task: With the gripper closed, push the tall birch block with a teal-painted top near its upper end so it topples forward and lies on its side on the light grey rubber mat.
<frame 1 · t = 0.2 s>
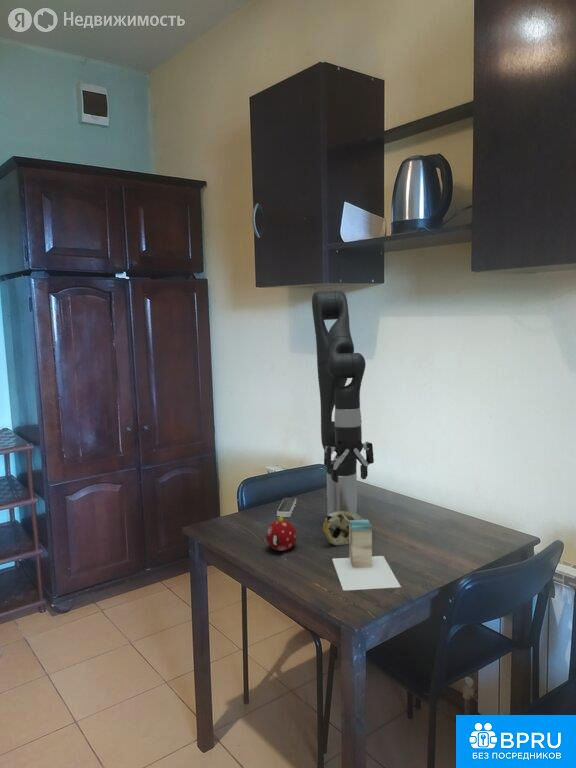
hand: (349, 480, 163), 19 cm above the table, tool pointing down, fingers open, 8 cm apart
christmas ornament: (281, 550, 163), on the table
skull: (342, 543, 167), on the table
mat: (364, 574, 146), on the table
tall block: (360, 563, 151), point 1 cm above the table, touching mat
multiport hub: (287, 511, 196), on the table
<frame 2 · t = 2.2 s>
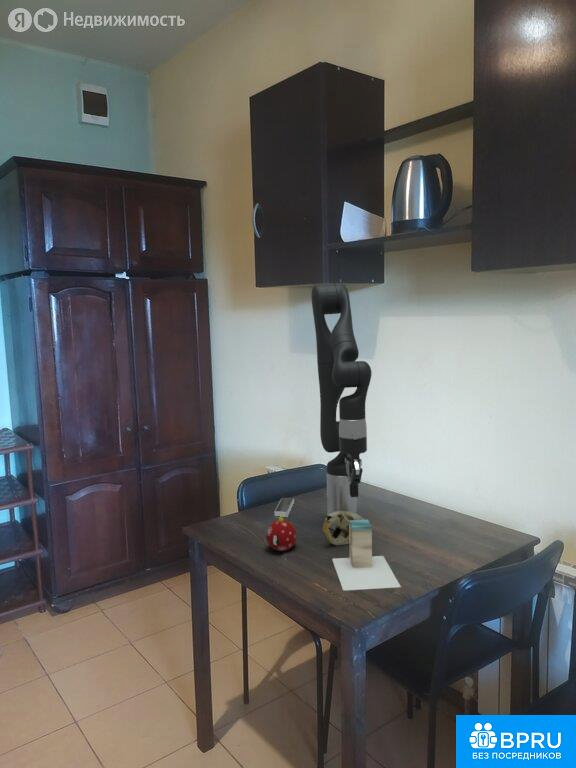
hand: (354, 496, 158), 16 cm above the table, tool pointing down, fingers closed
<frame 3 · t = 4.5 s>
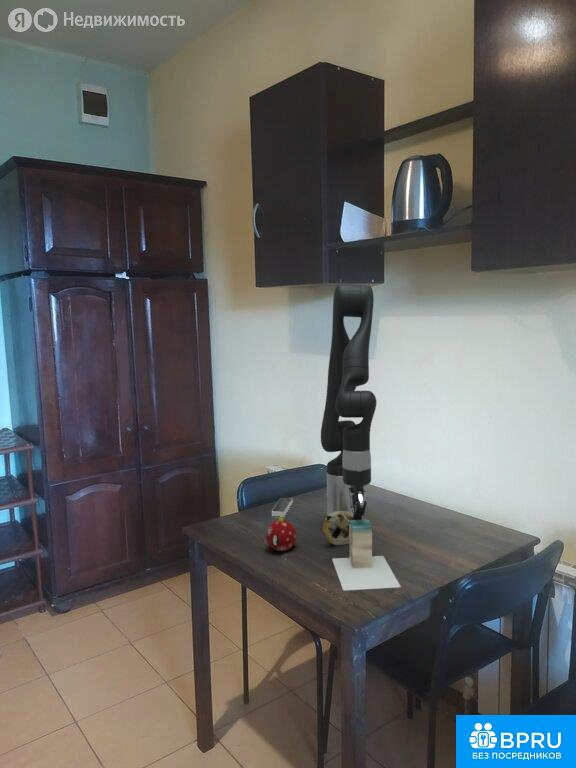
hand: (357, 527, 154), 9 cm above the table, tool pointing down, fingers closed
tall block: (360, 563, 151), point 1 cm above the table, touching gripper, mat
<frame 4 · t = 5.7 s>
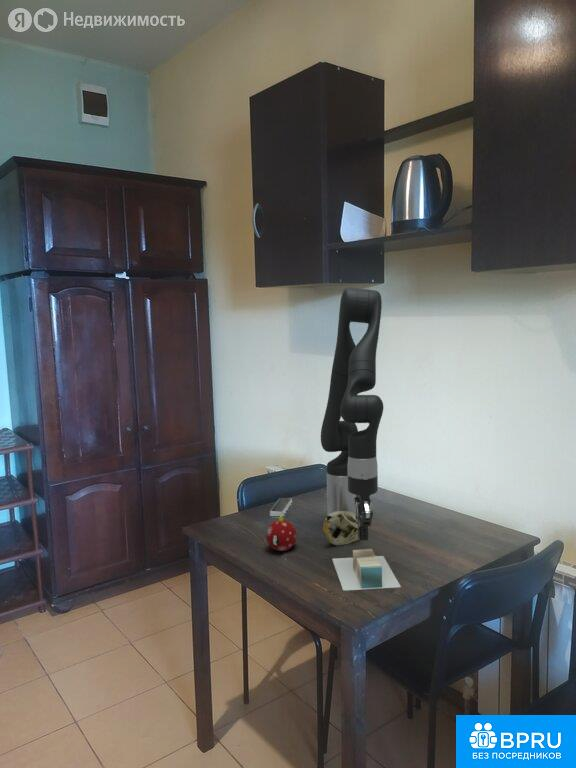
hand: (363, 539, 147), 9 cm above the table, tool pointing down, fingers closed
tall block: (362, 558, 148), point 3 cm above the table, tilted 90°, touching mat
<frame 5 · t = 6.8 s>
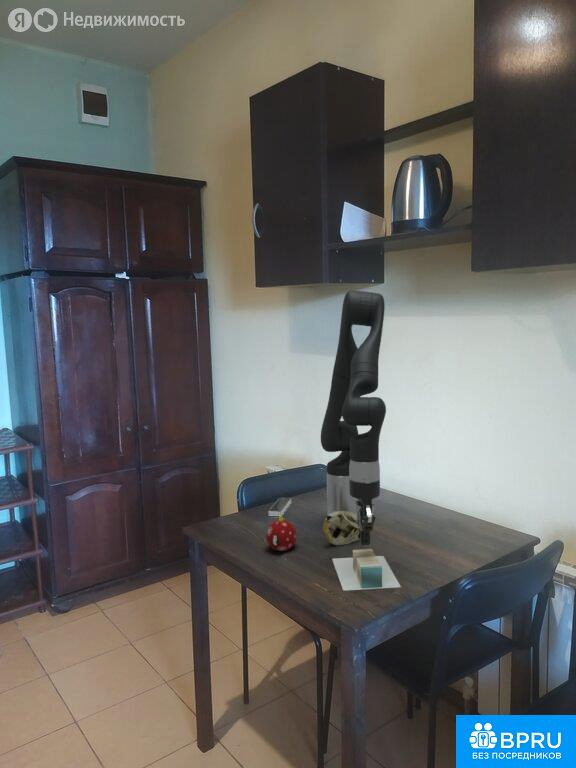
hand: (365, 543, 144), 9 cm above the table, tool pointing down, fingers closed
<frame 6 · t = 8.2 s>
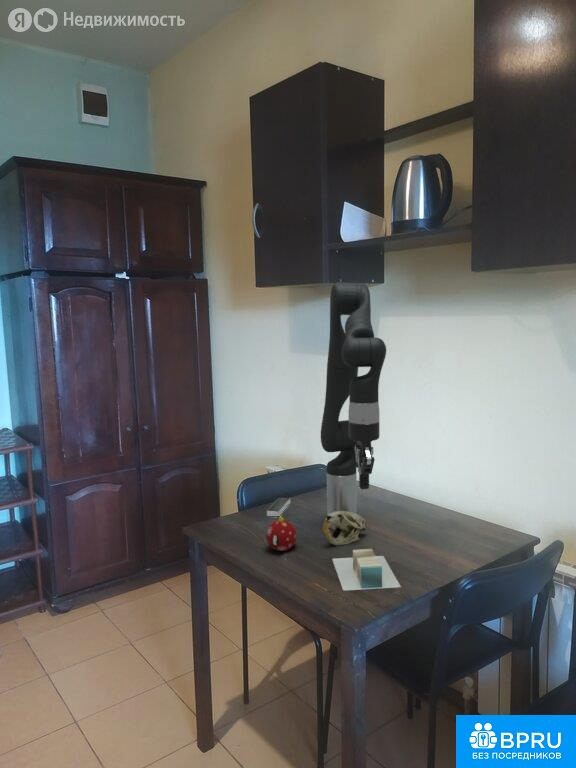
hand: (364, 488, 142), 23 cm above the table, tool pointing down, fingers closed
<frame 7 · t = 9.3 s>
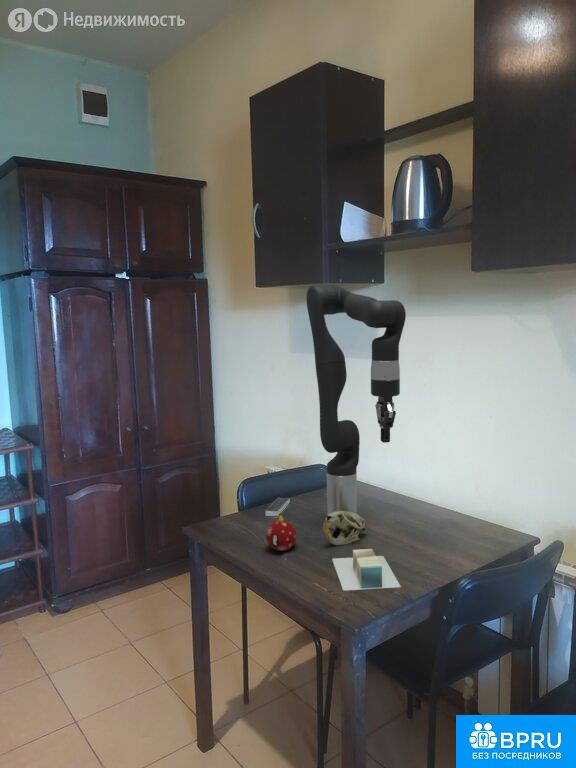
hand: (385, 441, 153), 32 cm above the table, tool pointing down, fingers closed
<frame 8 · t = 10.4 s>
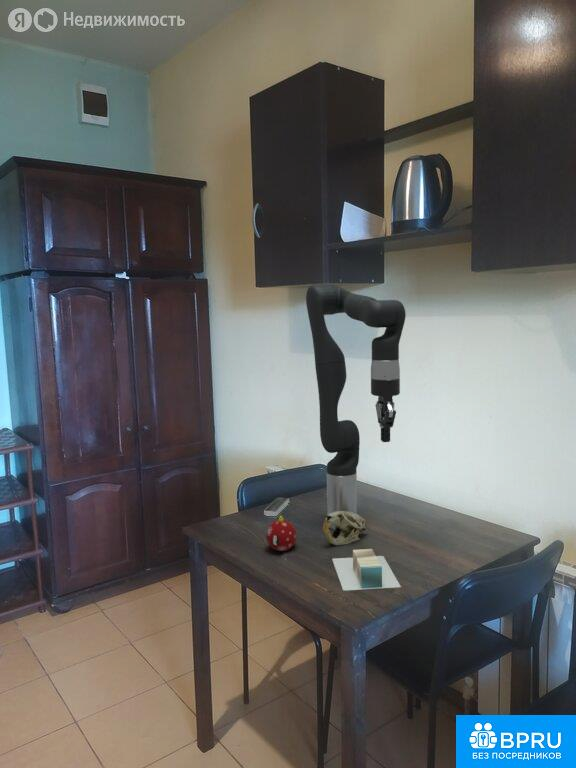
hand: (385, 441, 153), 32 cm above the table, tool pointing down, fingers closed
at the end: tall block tilted 90°; tall block inside the target area (2.5 cm from its centre), point 3.1 cm above the table; the gripper is holding nothing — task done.
